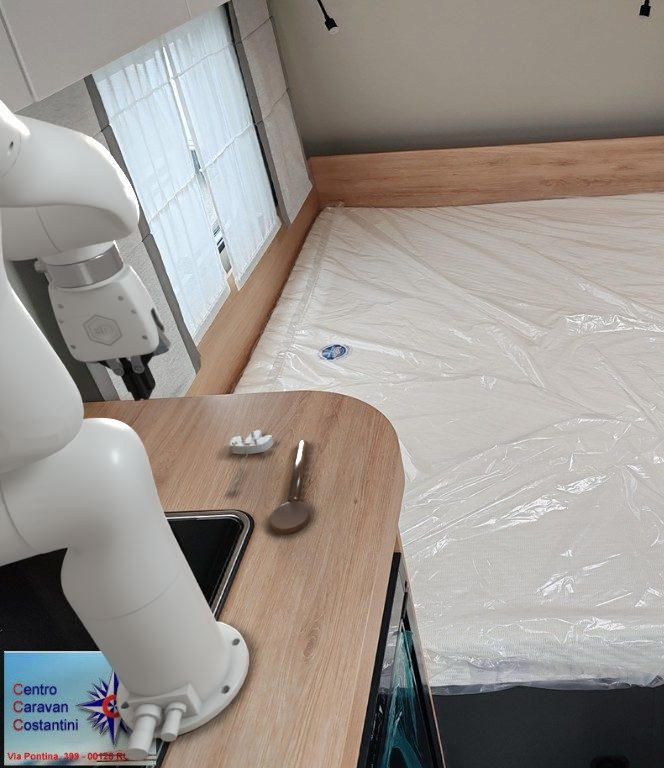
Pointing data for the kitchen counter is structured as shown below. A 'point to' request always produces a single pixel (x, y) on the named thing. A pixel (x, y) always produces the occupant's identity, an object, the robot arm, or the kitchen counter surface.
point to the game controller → (251, 445)
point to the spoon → (293, 499)
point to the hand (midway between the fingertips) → (145, 393)
